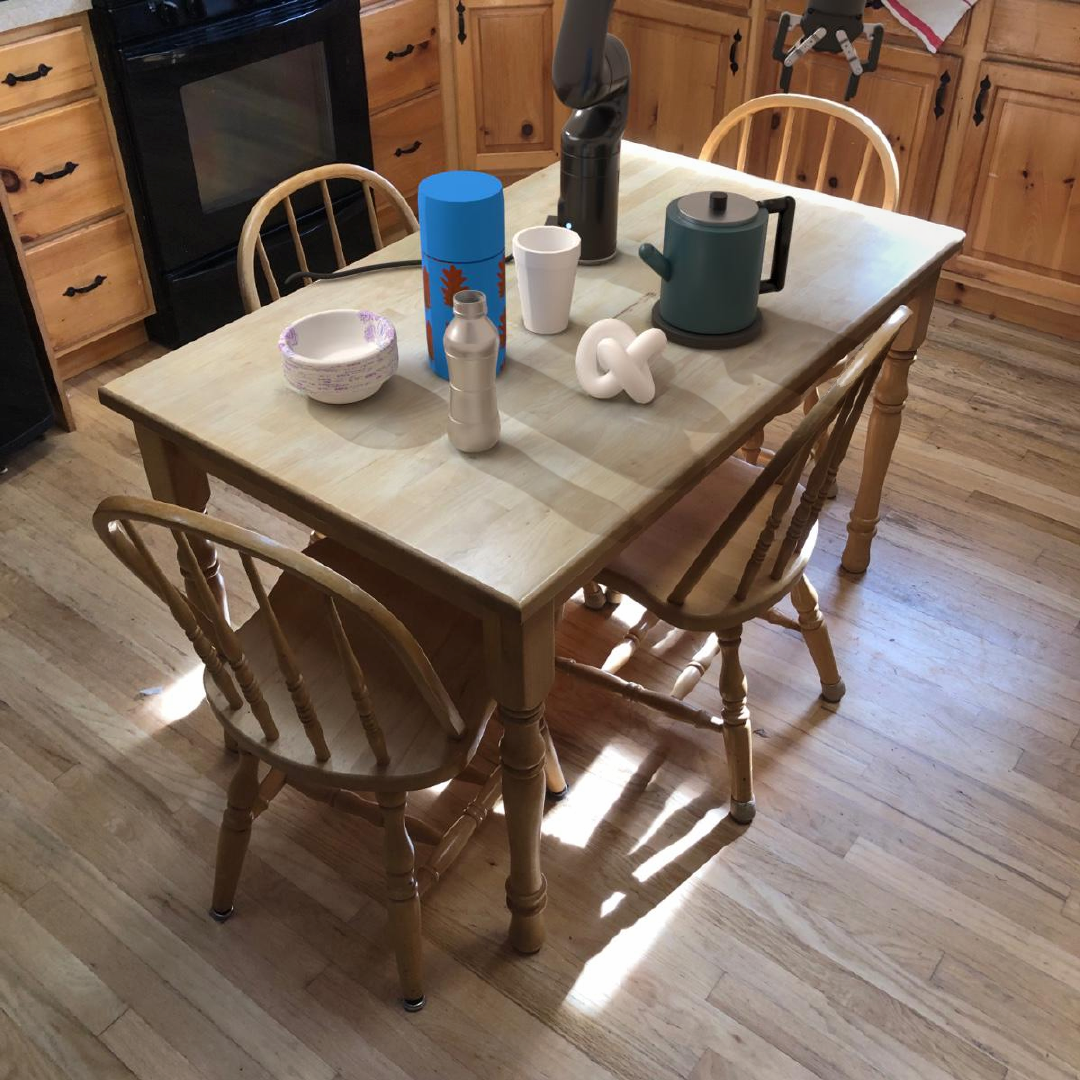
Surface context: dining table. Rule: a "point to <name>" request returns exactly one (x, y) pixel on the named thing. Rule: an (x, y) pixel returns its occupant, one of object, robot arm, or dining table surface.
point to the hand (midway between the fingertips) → (815, 96)
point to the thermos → (461, 253)
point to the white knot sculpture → (618, 360)
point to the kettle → (718, 259)
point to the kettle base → (706, 340)
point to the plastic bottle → (472, 374)
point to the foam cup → (546, 275)
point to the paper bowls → (339, 354)
